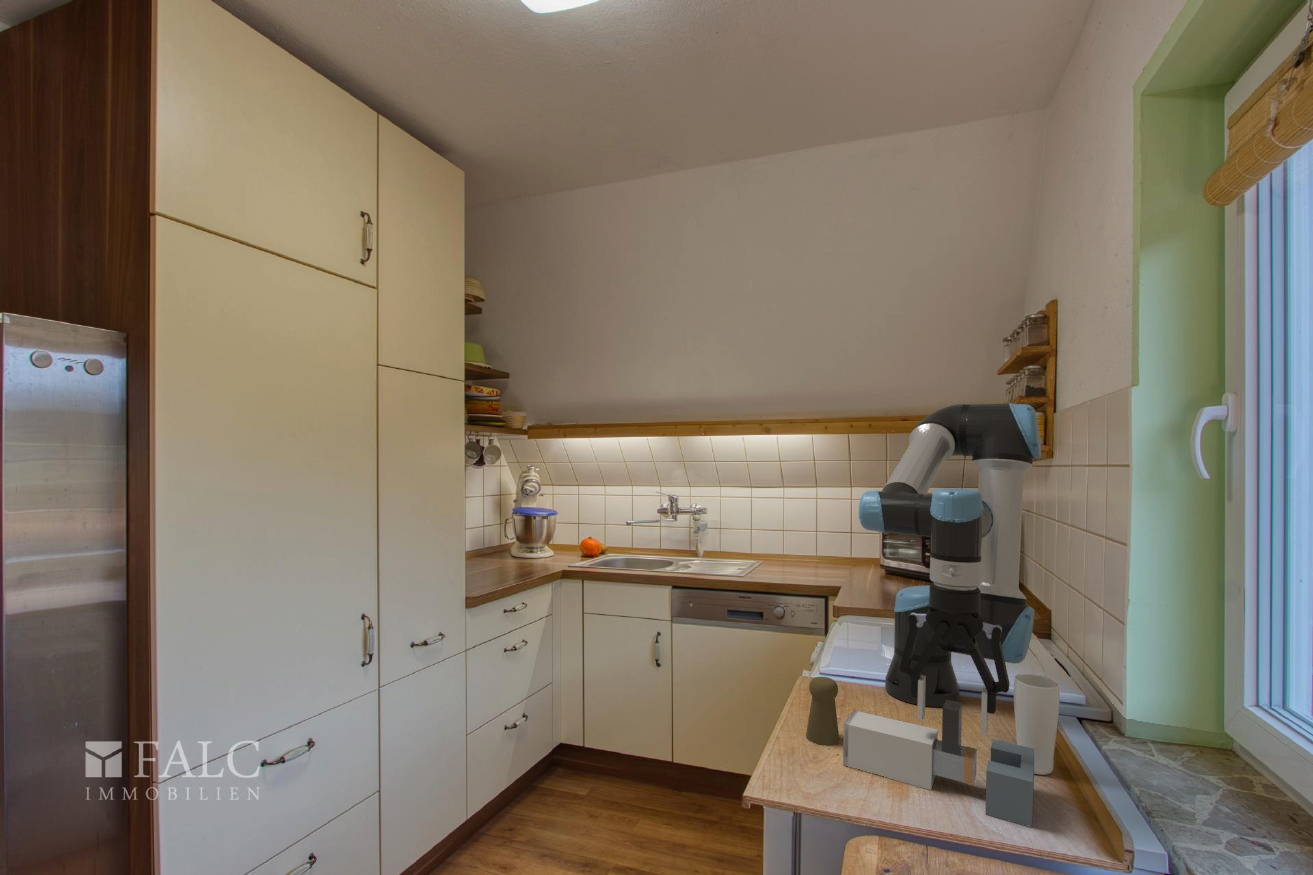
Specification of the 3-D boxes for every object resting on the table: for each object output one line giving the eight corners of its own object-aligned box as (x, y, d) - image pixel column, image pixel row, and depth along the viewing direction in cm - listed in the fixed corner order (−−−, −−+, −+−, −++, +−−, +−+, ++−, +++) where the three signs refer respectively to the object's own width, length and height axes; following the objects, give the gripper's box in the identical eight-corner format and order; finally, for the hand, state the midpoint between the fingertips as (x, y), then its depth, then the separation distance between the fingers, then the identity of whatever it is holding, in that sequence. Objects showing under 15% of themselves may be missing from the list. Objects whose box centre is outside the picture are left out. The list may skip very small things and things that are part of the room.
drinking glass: (1062, 781, 107) (1064, 690, 107) (1015, 773, 110) (1017, 684, 110) (1053, 762, 114) (1054, 676, 114) (1009, 755, 116) (1011, 671, 116)
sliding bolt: (862, 744, 115) (863, 682, 115) (976, 773, 106) (977, 705, 106) (856, 754, 111) (858, 689, 111) (973, 785, 102) (975, 714, 102)
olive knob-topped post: (840, 747, 118) (841, 686, 118) (806, 743, 119) (807, 683, 119) (838, 732, 124) (839, 674, 124) (805, 728, 125) (806, 671, 125)
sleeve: (852, 750, 117) (853, 710, 117) (936, 772, 110) (937, 729, 110) (842, 765, 111) (843, 723, 111) (930, 789, 104) (931, 744, 104)
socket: (991, 778, 108) (992, 738, 108) (1033, 789, 105) (1034, 748, 105) (985, 814, 98) (986, 770, 98) (1031, 827, 95) (1032, 781, 95)
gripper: (881, 580, 108) (878, 716, 108) (1030, 599, 97) (1027, 751, 97) (890, 572, 114) (888, 701, 114) (1032, 589, 103) (1028, 732, 103)
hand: (951, 724), depth 106 cm, fingers open, 9 cm apart
